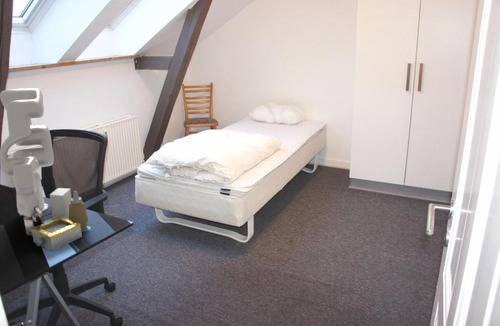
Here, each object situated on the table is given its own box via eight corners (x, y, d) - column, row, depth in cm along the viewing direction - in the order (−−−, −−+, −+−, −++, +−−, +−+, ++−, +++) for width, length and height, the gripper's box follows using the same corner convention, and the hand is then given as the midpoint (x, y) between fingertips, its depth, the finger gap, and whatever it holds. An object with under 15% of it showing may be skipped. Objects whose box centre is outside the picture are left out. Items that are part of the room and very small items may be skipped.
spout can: (23, 233, 175) (20, 216, 173) (39, 226, 181) (37, 210, 179) (31, 236, 172) (28, 219, 170) (47, 229, 179) (44, 213, 176)
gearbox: (29, 244, 166) (26, 230, 164) (63, 229, 179) (61, 216, 177) (48, 252, 160) (45, 238, 158) (81, 236, 173) (80, 223, 171)
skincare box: (61, 217, 191) (57, 187, 186) (75, 218, 190) (71, 188, 186) (52, 225, 183) (48, 194, 178) (67, 225, 182) (62, 194, 178)
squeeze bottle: (82, 232, 177) (77, 195, 171) (66, 230, 178) (61, 193, 173) (92, 224, 184) (88, 188, 179) (76, 222, 186) (72, 187, 180)
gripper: (6, 188, 171) (12, 224, 176) (29, 196, 162) (35, 234, 167) (23, 183, 177) (29, 218, 182) (46, 191, 168) (51, 227, 173)
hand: (32, 226), depth 174 cm, fingers open, 9 cm apart
